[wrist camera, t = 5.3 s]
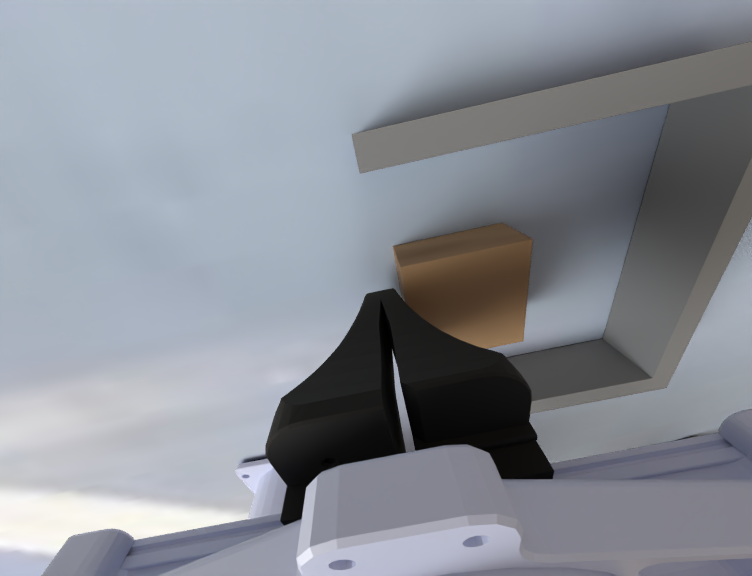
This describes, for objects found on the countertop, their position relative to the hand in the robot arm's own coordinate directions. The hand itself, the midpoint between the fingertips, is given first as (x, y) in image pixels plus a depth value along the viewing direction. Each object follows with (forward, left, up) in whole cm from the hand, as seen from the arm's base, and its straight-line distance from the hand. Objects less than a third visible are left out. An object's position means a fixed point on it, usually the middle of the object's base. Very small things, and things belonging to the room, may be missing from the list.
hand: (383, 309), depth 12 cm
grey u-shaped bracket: (0, -6, -1) cm, 6 cm away
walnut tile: (0, -3, -1) cm, 4 cm away
